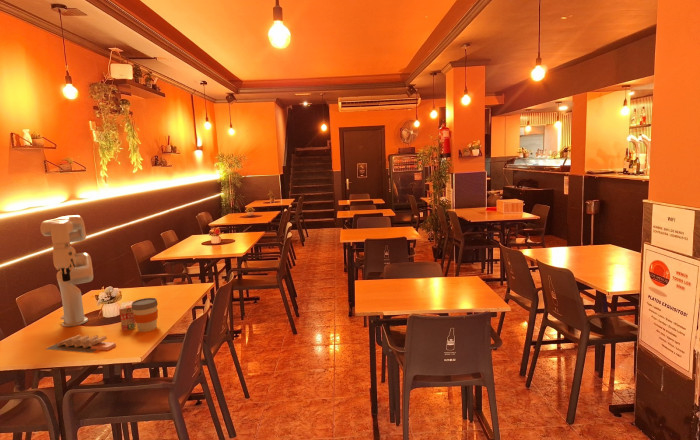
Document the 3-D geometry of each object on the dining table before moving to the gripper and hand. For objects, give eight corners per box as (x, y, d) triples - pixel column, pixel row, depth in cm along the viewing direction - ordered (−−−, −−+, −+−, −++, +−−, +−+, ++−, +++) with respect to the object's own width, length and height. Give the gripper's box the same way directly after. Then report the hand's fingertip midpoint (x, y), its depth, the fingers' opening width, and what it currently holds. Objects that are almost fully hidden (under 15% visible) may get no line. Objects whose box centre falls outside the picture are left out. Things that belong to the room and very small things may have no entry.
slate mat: (45, 349, 224) (44, 349, 224) (66, 340, 235) (66, 339, 235) (91, 353, 216) (91, 352, 216) (111, 343, 228) (111, 342, 228)
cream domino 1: (56, 343, 226) (71, 338, 223) (65, 339, 231) (80, 334, 228) (58, 346, 226) (72, 341, 223) (66, 342, 231) (81, 337, 228)
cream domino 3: (74, 344, 223) (88, 339, 220) (82, 340, 228) (97, 335, 225) (75, 347, 223) (90, 342, 220) (83, 343, 228) (98, 338, 225)
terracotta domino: (90, 345, 220) (107, 347, 218) (98, 341, 225) (115, 342, 222) (90, 349, 221) (108, 350, 218) (99, 344, 225) (116, 346, 223)
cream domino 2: (65, 344, 225) (79, 339, 222) (73, 340, 229) (88, 335, 226) (66, 347, 225) (81, 342, 222) (74, 343, 229) (89, 338, 226)
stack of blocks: (125, 318, 264) (122, 297, 262) (137, 316, 266) (134, 296, 265) (121, 331, 244) (119, 308, 243) (134, 328, 246) (132, 306, 245)
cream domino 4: (82, 345, 222) (97, 339, 219) (90, 341, 226) (105, 335, 223) (83, 348, 222) (98, 342, 219) (92, 344, 227) (106, 338, 224)
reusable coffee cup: (150, 323, 254) (147, 296, 252) (165, 326, 248) (162, 299, 246) (129, 331, 243) (126, 303, 241) (144, 334, 237) (141, 306, 235)
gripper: (79, 244, 238) (84, 279, 240) (56, 244, 242) (61, 278, 244) (67, 247, 230) (72, 283, 233) (43, 247, 234) (49, 282, 237)
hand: (66, 280), depth 239 cm, fingers closed
